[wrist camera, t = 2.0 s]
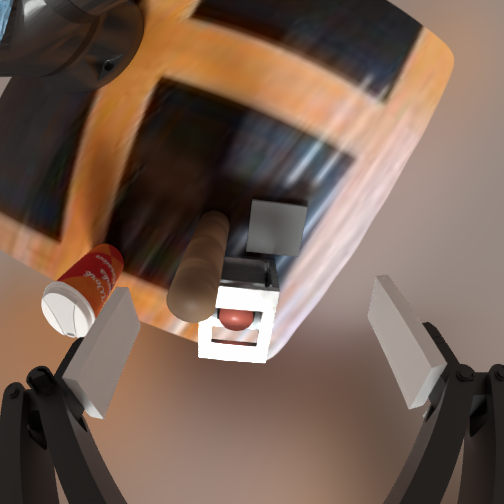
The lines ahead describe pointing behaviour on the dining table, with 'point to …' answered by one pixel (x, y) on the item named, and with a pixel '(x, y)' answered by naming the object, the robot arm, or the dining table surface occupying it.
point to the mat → (276, 228)
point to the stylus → (200, 270)
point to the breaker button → (235, 318)
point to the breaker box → (243, 307)
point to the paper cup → (82, 291)
